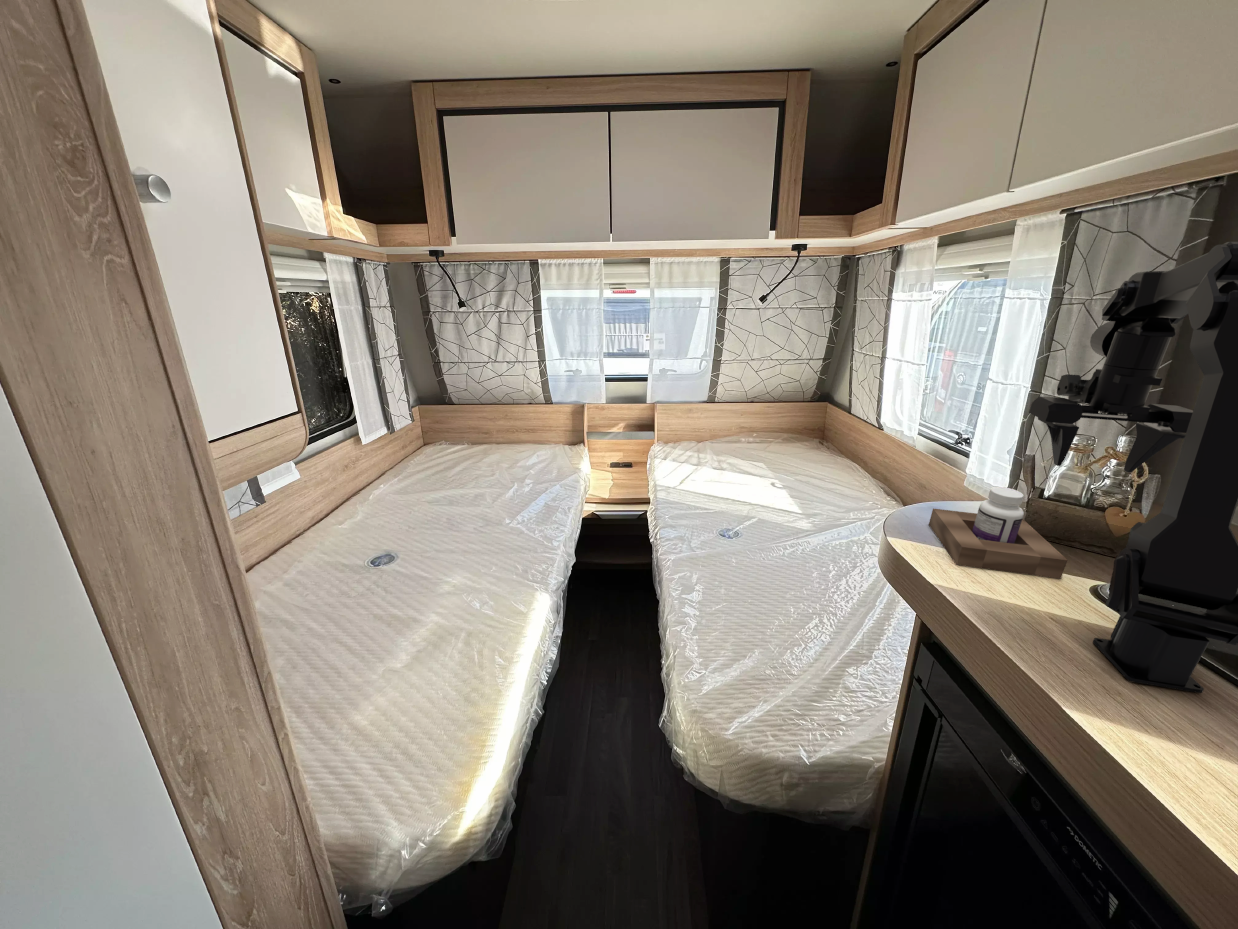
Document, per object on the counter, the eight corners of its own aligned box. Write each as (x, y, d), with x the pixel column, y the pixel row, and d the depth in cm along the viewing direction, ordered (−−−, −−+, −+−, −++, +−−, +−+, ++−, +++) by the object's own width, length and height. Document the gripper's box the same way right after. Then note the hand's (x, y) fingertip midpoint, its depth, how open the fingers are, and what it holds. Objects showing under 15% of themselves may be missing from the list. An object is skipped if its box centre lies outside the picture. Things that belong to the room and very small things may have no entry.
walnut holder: (1060, 578, 71) (1067, 560, 70) (956, 564, 74) (961, 546, 72) (1016, 535, 82) (1022, 518, 81) (928, 524, 85) (933, 508, 84)
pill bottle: (997, 542, 80) (1015, 485, 77) (1018, 560, 75) (1039, 500, 72) (960, 539, 81) (977, 483, 77) (979, 557, 76) (998, 498, 72)
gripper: (1168, 361, 78) (1128, 457, 83) (1027, 354, 82) (999, 446, 87) (1229, 374, 67) (1180, 482, 73) (1066, 365, 72) (1031, 468, 77)
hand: (1091, 468), depth 78 cm, fingers open, 9 cm apart
